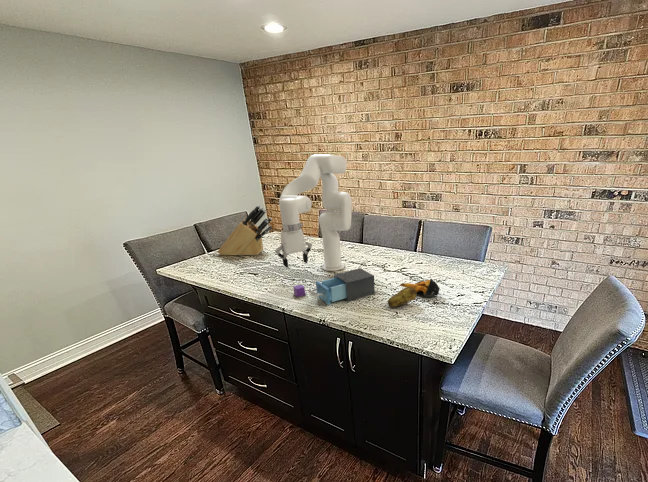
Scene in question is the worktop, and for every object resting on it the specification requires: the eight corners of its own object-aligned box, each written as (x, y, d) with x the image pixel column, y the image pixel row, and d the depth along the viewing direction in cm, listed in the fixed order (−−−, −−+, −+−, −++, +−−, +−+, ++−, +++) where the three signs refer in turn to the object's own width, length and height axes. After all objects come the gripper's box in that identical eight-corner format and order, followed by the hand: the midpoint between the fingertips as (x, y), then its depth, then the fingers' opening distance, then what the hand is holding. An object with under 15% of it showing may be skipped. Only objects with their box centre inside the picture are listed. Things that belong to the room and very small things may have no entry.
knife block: (272, 255, 216) (264, 207, 204) (217, 256, 217) (207, 207, 205) (277, 250, 227) (270, 203, 214) (225, 250, 227) (216, 204, 215)
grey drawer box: (347, 301, 152) (346, 282, 149) (335, 292, 162) (333, 274, 158) (374, 293, 160) (374, 275, 156) (360, 285, 169) (360, 268, 166)
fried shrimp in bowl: (439, 293, 148) (401, 278, 149) (432, 307, 156) (396, 293, 158) (444, 278, 154) (407, 264, 155) (437, 293, 162) (402, 279, 164)
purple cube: (294, 294, 160) (293, 286, 159) (302, 292, 163) (301, 284, 161) (297, 297, 157) (296, 289, 156) (305, 294, 159) (304, 287, 158)
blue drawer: (318, 307, 145) (316, 292, 142) (307, 298, 154) (305, 283, 151) (354, 296, 154) (353, 282, 152) (342, 288, 163) (341, 274, 160)
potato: (386, 301, 151) (386, 285, 148) (415, 300, 152) (415, 284, 149) (388, 310, 144) (387, 293, 141) (417, 309, 144) (418, 292, 141)
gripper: (306, 223, 155) (310, 258, 161) (269, 228, 146) (274, 266, 152) (313, 226, 149) (317, 262, 156) (274, 232, 140) (280, 271, 147)
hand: (296, 264), depth 154 cm, fingers open, 8 cm apart
